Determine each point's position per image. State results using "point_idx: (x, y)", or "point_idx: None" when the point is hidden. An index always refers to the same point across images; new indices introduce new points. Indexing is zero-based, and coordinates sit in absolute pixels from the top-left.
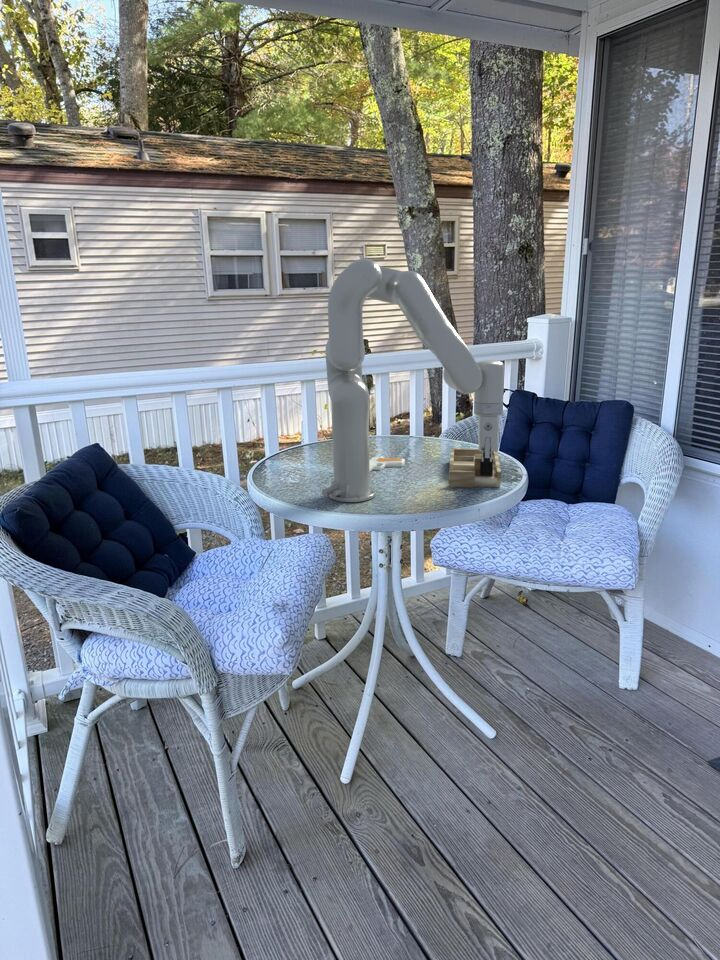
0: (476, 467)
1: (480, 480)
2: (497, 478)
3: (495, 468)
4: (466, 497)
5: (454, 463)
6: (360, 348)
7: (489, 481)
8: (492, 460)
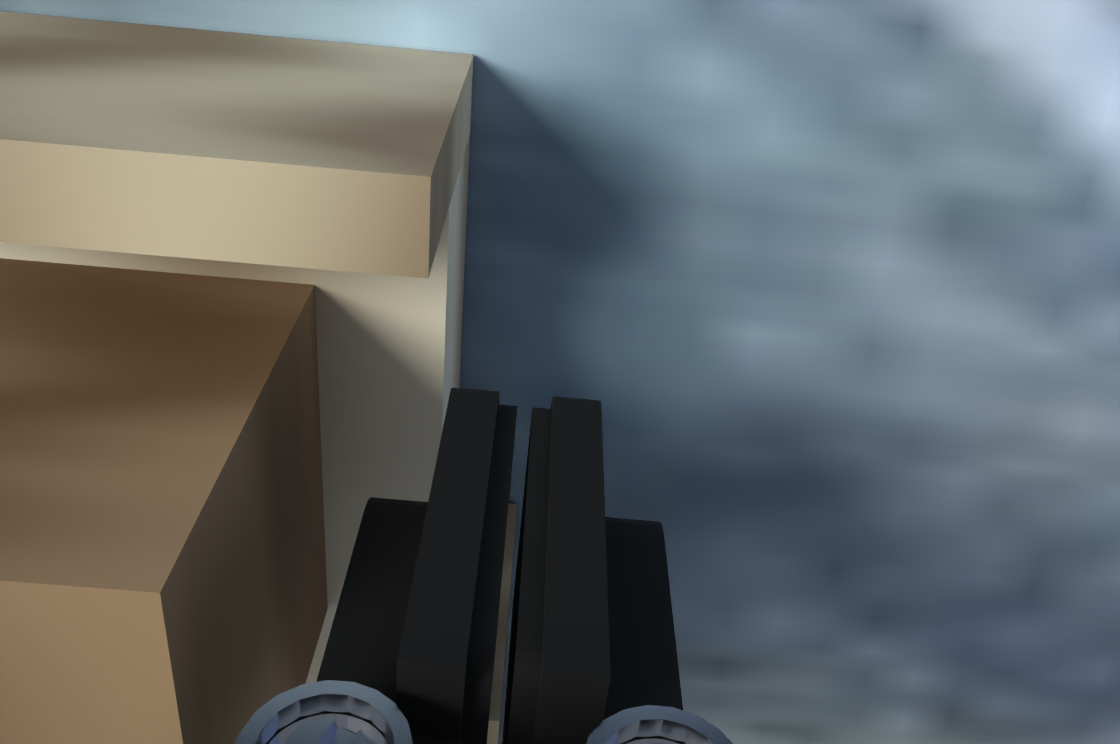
0: None
1: None
2: (451, 189)
3: None
4: (1019, 639)
5: None
6: None
7: (454, 321)
8: (457, 666)
